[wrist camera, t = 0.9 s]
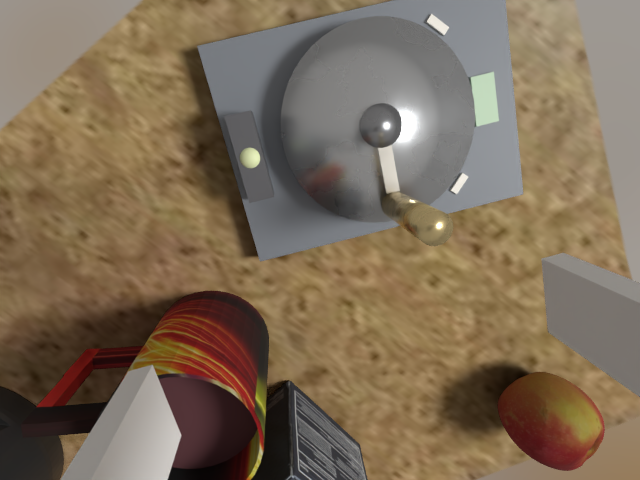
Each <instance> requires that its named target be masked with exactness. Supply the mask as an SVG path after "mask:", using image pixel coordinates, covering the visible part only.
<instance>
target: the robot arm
mask: <svg viewBox="0 0 640 480" xmlns="http://www.w3.org/2000/svg"><path fill="white" fill-rule="evenodd" d="M542 269H543V281H544V292H545V304H546V315H547V326H548V332H549V333H550V334H551V335H553V336H554V337H556V338H557V339H558V340H560V341H561V342H563V343H564V344H566V345H567V346H568V347H570V348H571V349H573V350H574V351H575V352H577V353H578V354H580V355H581V356H583V357H584V358H585V359H587V360H588V361H590V362H591V363H592V364H594V365H595V366H597V367H598V368H599V369H601V370H602V371H604V372H605V373H607V374H608V375H609V376H611V377H612V378H614V379H615V380H616V381H618V382H619V383H621V384H622V385H624V386H625V387H626V388H628V389H629V390H631V391H632V392H633V393H635V394H636V395H638V396H639V397H640V283H638V282H636V281H633V280H631V279H628V278H626V277H623V276H621V275H618V274H616V273H613V272H611V271H608V270H606V269H603V268H601V267H598V266H596V265H593V264H590V263H588V262H585V261H583V260H580V259H578V258H575V257H573V256H570V255H568V254H565V253H561V254H557V255H554V256H550V257H546V258H543V259H542ZM35 408H36V407H35V406H34V405H33V404H32V403H30V402H29V401H28V400H26V399H24V398H23V397H21V396H19V395H18V394H16V393H14V392H12V391H9V390H7V389H5V388H2V387H0V480H60V478H61V475H62V471H63V464H64V456H63V448H62V444H61V441H60V438H59V436H58V435H56V436H44V437H25V438H23V435H22V429H21V423H22V422H23V421H24V420H25V419H26V418H27V417H28V416H29V414H30V413H31V412H32V411H33V410H34V409H35ZM180 438H181V433H180V431H179V428H178V426H177V423H176V421H175V418H174V416H173V413H172V411H171V409H170V406H169V404H168V401H167V399H166V396H165V394H164V391H163V389H162V386H161V384H160V382H159V379H158V377H157V374H156V372H155V369H154V367H153V365H150V366H146V367H142V368H139V369H135V370H131V371H128V373H127V374H126V376H125V377H124V379H123V381H122V382H121V384H120V385H119V387H118V389H117V390H116V392H115V393H114V395H113V397H112V398H111V400H110V401H109V403H108V405H107V406H106V408H105V409H104V411H103V413H102V414H101V416H100V417H99V419H98V421H97V422H96V424H95V425H94V427H93V429H92V430H91V432H90V433H89V435H88V437H87V438H86V440H85V441H84V443H83V445H82V446H81V448H80V449H79V451H78V453H77V454H76V456H75V457H74V459H73V461H72V462H71V464H70V465H69V467H68V469H67V470H66V472H65V473H64V475H63V477H62V478H61V480H168V477H169V474H170V471H171V467H172V464H173V461H174V458H175V454H176V451H177V448H178V445H179V442H180Z"/></svg>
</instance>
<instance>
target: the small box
mask: <svg viewBox="0 0 640 480" xmlns="http://www.w3.org/2000/svg"><path fill="white" fill-rule="evenodd" d="M251 480H368V479H367V475H366V471H365V467H364V463H363V458H362V453H361V448H360V444H359V443H357V442H356V441H355V440H354V439H353V438H352V437H351V436H350V435H349V434H348V433H347V432H346V431H345V430H343V429H342V428H341V427H340V426H339V425H338V424H337V423H336V422H335V421H334V420H333V419H332V418H330V417H329V416H328V415H327V414H326V413H325V412H324V411H323V410H322V409H321V408H320V407H318V405H316V404H315V403H314V402H313V401H312V400H311V399H310V398H309V397H308V396H307V395H305V394H304V393H303V392H302V391H301V390H300V389H299V388H298V387H297V386H295V385H294V384H293V383H292V382H291V381H288V382H286V383H285V384H283V385H282V386H281V388H280V389H279V390H277V391H276V392H275V393H274V394H273V395H271V396H270V397H269V398H268V399H266V415H265V436H264V451H263V455H262V459H261V463H260V465H259V467H258V469H257V471H256V473H255V475H254V476H253V478H252V479H251Z"/></svg>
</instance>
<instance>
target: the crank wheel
mask: <svg viewBox="0 0 640 480" xmlns="http://www.w3.org/2000/svg"><path fill="white" fill-rule="evenodd" d="M474 126H475V105H474V98H473V93H472V88H471V85H470V82H469V79H468V76H467V74H466V72H465V70H464V68H463V65H462V64H461V62H460V61H459V59H458V57H457V56H456V54H455V53H454V52H453V51H452V49H451V48H450V47H449V46H448V45H447V44H446V43H445V42H444V41H443V40H442V39H441V38H440V37H438V36H437V35H436V34H435V33H433V32H432V31H430V30H429V29H427V28H425V27H423V26H421V25H419V24H417V23H415V22H412V21H409V20H405V19H402V18H397V17H390V16H372V17H366V18H360V19H357V20H354V21H350V22H347V23H345V24H343V25H341V26H339V27H337V28H335V29H333V30H331V31H330V32H328V33H327V34H325V35H324V36H322V37H321V38H320V39H319V40H318V41H317V42H316V43H315V44H313V45H312V46H311V48H310V49H309V50H308V51H307V52H306V53H305V54H304V56H303V57H302V58H301V60H300V61H299V63H298V65H297V66H296V68H295V69H294V71H293V74H292V76H291V78H290V80H289V82H288V85H287V88H286V91H285V94H284V99H283V104H282V109H281V137H282V143H283V148H284V152H285V155H286V158H287V161H288V163H289V165H290V168H291V170H292V172H293V174H294V176H295V177H296V179H297V180H298V182H299V183H300V185H301V186H302V187H303V188H304V190H305V191H306V192H307V193H308V194H309V195H310V196H311V197H312V198H313V199H314V200H315V201H316V202H317V203H319V204H320V205H322V206H323V207H324V208H326V209H327V210H329V211H331V212H333V213H335V214H337V215H339V216H342V217H345V218H347V219H350V220H355V221H360V222H370V223H379V222H389V221H395V222H396V223H397V224H399V225H400V226H402V227H403V228H404V229H406V230H407V231H408V232H410V233H411V234H413V235H414V236H415V237H417V238H418V239H419V240H421V241H422V242H424V243H425V244H427V245H430V246H438V245H441V244H443V243H445V242H446V241H447V240H448V239H449V238H450V236H451V234H452V231H453V222H452V219H451V218H450V216H449V215H448V214H446V213H445V212H443V211H440V210H438V209H436V208H434V207H432V206H429V205H430V204H431V203H433V202H434V201H435V200H436V199H438V198H439V197H440V196H441V195H442V194H443V193H444V192H445V191H446V190H447V189H448V188H449V186H450V185H451V184H452V183H453V181H454V180H455V179H456V177H457V176H458V174H459V172H460V170H461V169H462V167H463V165H464V163H465V160H466V158H467V156H468V153H469V150H470V147H471V144H472V139H473V134H474Z"/></svg>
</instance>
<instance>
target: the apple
mask: <svg viewBox="0 0 640 480" xmlns="http://www.w3.org/2000/svg"><path fill="white" fill-rule="evenodd" d="M498 412H499V416H500V419H501V422H502V424H503V426H504V428H505V430H506V431H507V433H508V435H509V436H510V437H511V439H512V440H513V441H514V442H515V444H516V445H517V446H518V447H519V448H520V449H521V450H522V451H523V452H525V453H526V454H527V455H529V456H530V457H531V458H533V459H534V460H536V461H538V462H540V463H541V464H544V465H546V466H548V467H551V468H554V469H558V470H564V471H569V470H574V469H576V468H578V467H580V466H582V465H583V463H584V462H585V461H586V460H587V459H588V458H590V457H591V456H592V455H593V454H594V453H595V452H596V451H597V449H598V447H599V445H600V443H601V442H602V440H603V437H604V430H605V429H604V421H603V418H602V415H601V413H600V412H599V410H598V408H597V407H596V405H595V404H594V402H593V401H592V400H591V399H590V398H589V397H588V396H587V395H586V394H585V393H584V392H583V391H582V390H581V389H580V388H578V387H577V386H575V385H574V384H572V383H571V382H569V381H567V380H565V379H563V378H561V377H559V376H556V375H553V374H550V373H546V372H535V373H531V374H528V375H526V376H524V377H521V378H519V379H517V380H515V381H514V382H513V383H512V384H510V385H509V386H508V387H507V388H506V389H505V390H504V391H503V393H502V394H501V396H500V397H499V400H498Z"/></svg>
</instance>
